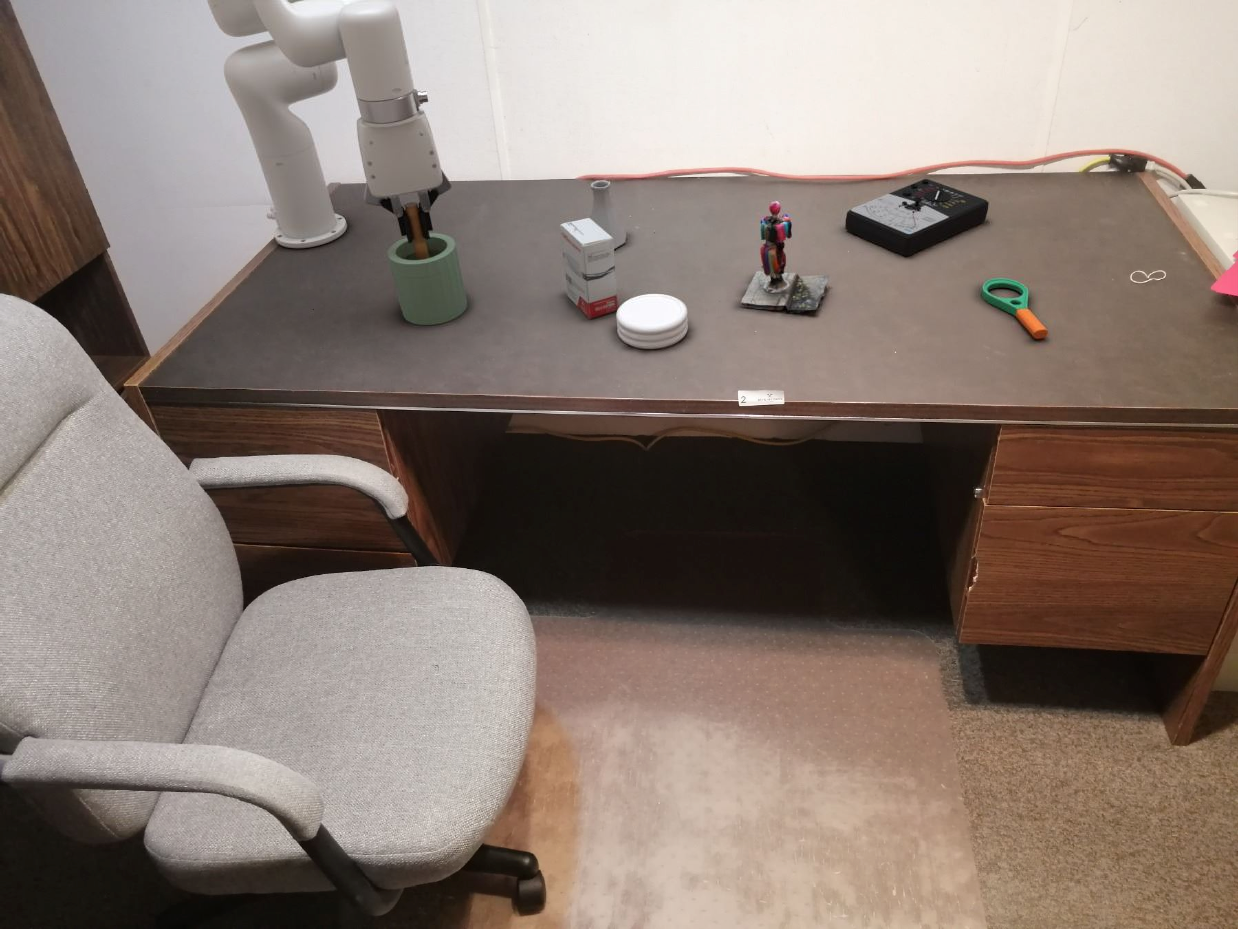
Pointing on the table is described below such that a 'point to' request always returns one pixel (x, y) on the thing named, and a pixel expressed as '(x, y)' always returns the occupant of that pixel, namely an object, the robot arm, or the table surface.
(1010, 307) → the magnifying glass
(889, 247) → the multimeter
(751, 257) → the table surface
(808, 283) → the statue
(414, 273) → the jar
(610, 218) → the flask
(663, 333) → the white round disc stack
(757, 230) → the table surface
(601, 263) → the ink box
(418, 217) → the wooden stamp
